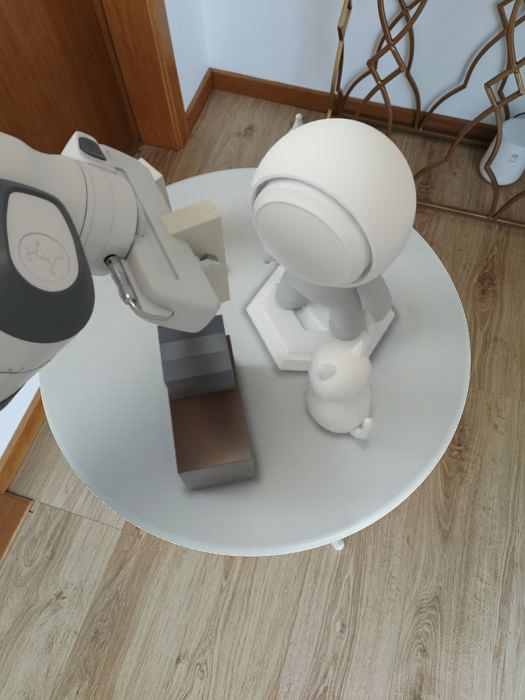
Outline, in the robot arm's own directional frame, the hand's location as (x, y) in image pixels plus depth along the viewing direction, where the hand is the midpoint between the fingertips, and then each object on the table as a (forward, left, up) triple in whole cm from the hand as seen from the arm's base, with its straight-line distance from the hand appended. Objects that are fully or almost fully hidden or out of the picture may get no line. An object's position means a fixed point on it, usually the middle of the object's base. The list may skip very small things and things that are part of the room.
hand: (208, 253), depth 55 cm
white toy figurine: (+15, +5, -27) cm, 32 cm away
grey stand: (-4, -9, -27) cm, 29 cm away
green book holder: (-6, +20, -27) cm, 34 cm away
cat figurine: (+14, -11, -27) cm, 33 cm away
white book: (-2, -1, -8) cm, 8 cm away
